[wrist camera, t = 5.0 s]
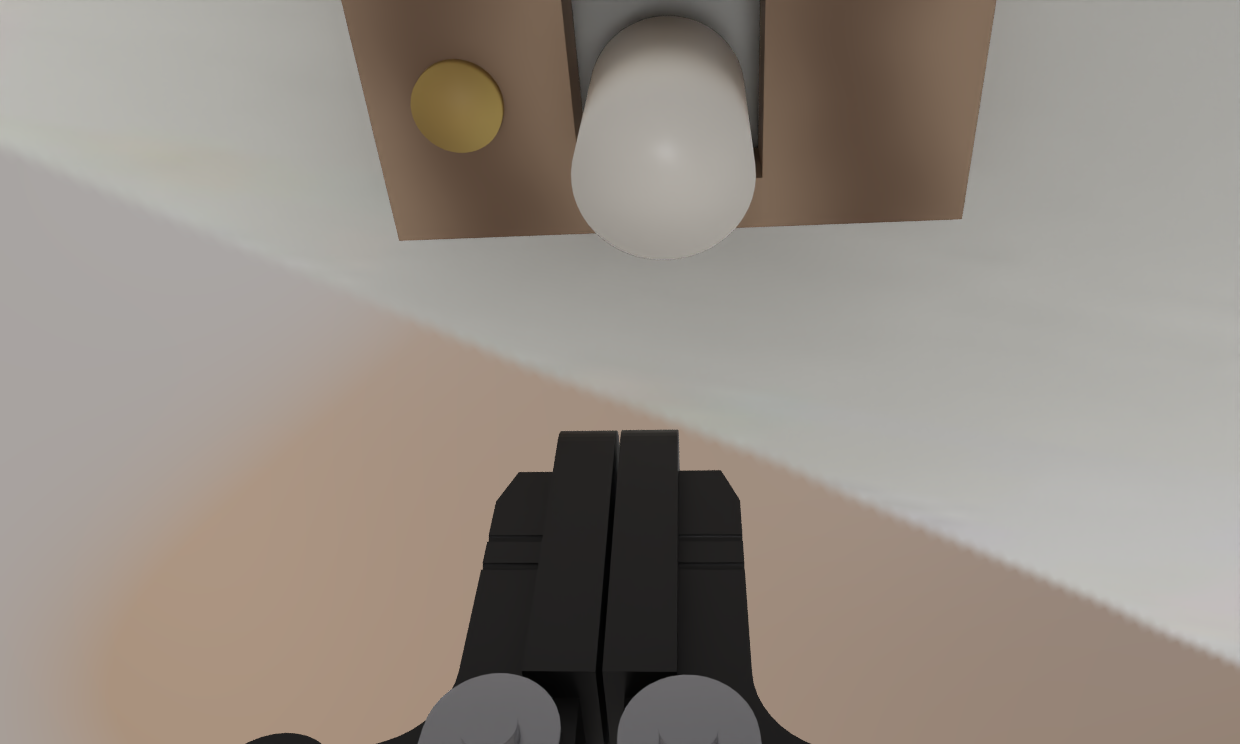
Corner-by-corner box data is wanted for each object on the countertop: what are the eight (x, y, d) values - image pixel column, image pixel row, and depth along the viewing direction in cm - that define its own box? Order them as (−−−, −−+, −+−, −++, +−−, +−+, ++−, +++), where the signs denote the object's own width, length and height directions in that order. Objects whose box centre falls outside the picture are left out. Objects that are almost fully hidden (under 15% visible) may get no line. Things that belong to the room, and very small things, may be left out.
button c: (744, 11, 23) (757, 84, 19) (744, 163, 26) (754, 256, 22) (582, 20, 24) (561, 94, 20) (596, 170, 26) (580, 263, 22)
